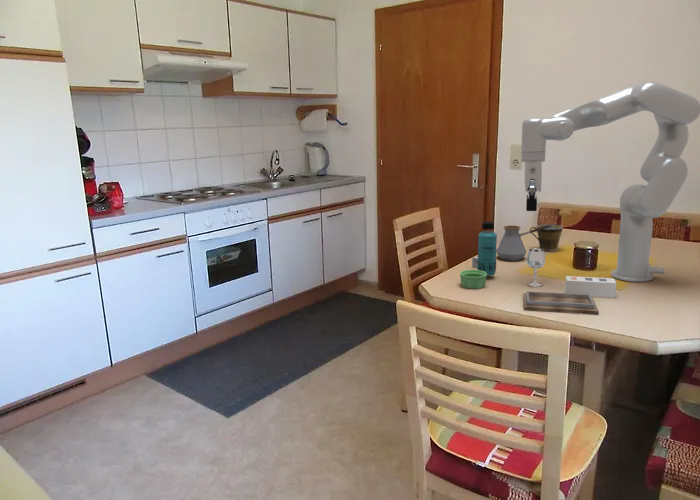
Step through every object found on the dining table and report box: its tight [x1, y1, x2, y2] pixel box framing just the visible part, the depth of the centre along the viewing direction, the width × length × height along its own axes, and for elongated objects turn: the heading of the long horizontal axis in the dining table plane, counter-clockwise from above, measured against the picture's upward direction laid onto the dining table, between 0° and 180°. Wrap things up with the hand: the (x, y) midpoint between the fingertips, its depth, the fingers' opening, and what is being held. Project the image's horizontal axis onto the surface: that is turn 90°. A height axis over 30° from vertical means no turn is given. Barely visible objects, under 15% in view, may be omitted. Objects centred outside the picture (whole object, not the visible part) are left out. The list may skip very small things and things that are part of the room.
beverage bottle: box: [476, 221, 498, 277], centre depth 183 cm, size 6×7×20 cm
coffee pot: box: [496, 224, 553, 262], centre depth 204 cm, size 21×12×15 cm, turn 56°
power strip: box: [564, 275, 617, 299], centre depth 163 cm, size 14×5×5 cm, turn 71°
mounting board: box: [522, 290, 600, 316], centre depth 155 cm, size 20×13×2 cm, turn 73°
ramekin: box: [459, 269, 488, 290], centre depth 176 cm, size 9×9×4 cm
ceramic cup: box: [529, 223, 564, 253], centre depth 218 cm, size 13×10×10 cm
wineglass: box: [526, 247, 546, 288], centre depth 173 cm, size 6×6×12 cm
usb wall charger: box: [471, 256, 478, 270], centre depth 198 cm, size 4×7×4 cm, turn 119°
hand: (531, 208), depth 175 cm, fingers open, 9 cm apart
